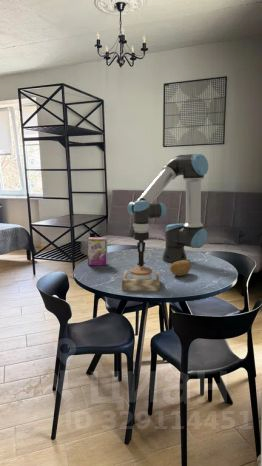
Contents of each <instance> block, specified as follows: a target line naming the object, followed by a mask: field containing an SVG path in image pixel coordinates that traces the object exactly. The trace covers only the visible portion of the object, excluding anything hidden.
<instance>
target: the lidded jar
mask: <svg viewBox="0 0 262 466" xmlns="http://www.w3.org/2000/svg"><path fill="white" fill-rule="evenodd" d="M129 273H130V279H136V280H152V277H153V269H152V268H150V267H147V266H144V267H142V266H141V267H138V266H136V267H132V268H130V270H129Z"/></svg>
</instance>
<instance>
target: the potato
mask: <svg viewBox="0 0 262 466" xmlns="http://www.w3.org/2000/svg"><path fill="white" fill-rule="evenodd" d="M191 266H192V265H191V262H190V261H189V260H188V259H187V260H181V261H177V262H174V263H170V266H169V270H170V272H171V274H173V275H175V276H179V277H184V276H185V275H187V274H189V272H190V270H191Z"/></svg>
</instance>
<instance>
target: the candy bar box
mask: <svg viewBox="0 0 262 466" xmlns="http://www.w3.org/2000/svg"><path fill="white" fill-rule="evenodd" d="M87 264H88V265H87V266H98V265H99V266H101V267H103V266H105V267H106V266H107V265H108V238H107V237H94V236H93V237H90V236H89V237H88V238H87Z"/></svg>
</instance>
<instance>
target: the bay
mask: <svg viewBox="0 0 262 466" xmlns="http://www.w3.org/2000/svg"><path fill="white" fill-rule="evenodd" d="M121 290H122V291H138V292H139V291H140V292H141V291H142V292H143V291H144V292H146V291H147V292H160V271H158V270H157V271H156V272H155V279H151V280H136V279H131V278H130V279H128V271H127V270H124V271H123V274H122V279H121Z"/></svg>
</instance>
